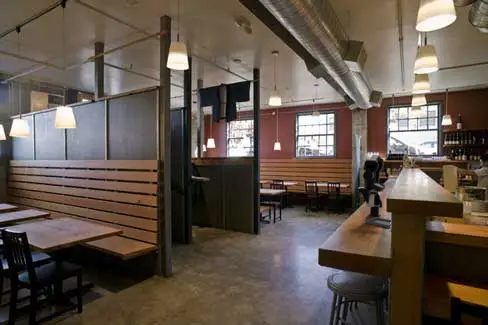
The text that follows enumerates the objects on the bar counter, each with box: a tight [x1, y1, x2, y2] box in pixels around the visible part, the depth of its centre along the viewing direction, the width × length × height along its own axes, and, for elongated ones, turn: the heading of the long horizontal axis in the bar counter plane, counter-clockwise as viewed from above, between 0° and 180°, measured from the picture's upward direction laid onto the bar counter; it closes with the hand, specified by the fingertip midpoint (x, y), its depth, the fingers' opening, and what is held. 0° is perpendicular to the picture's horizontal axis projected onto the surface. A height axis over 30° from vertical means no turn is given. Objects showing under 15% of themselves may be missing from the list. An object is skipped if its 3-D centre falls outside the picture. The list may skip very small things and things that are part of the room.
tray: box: [364, 216, 392, 229], centre depth 197 cm, size 15×15×2 cm
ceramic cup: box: [365, 194, 374, 208], centre depth 203 cm, size 5×5×8 cm
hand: (369, 203), depth 203 cm, fingers closed on ceramic cup, 5 cm apart
